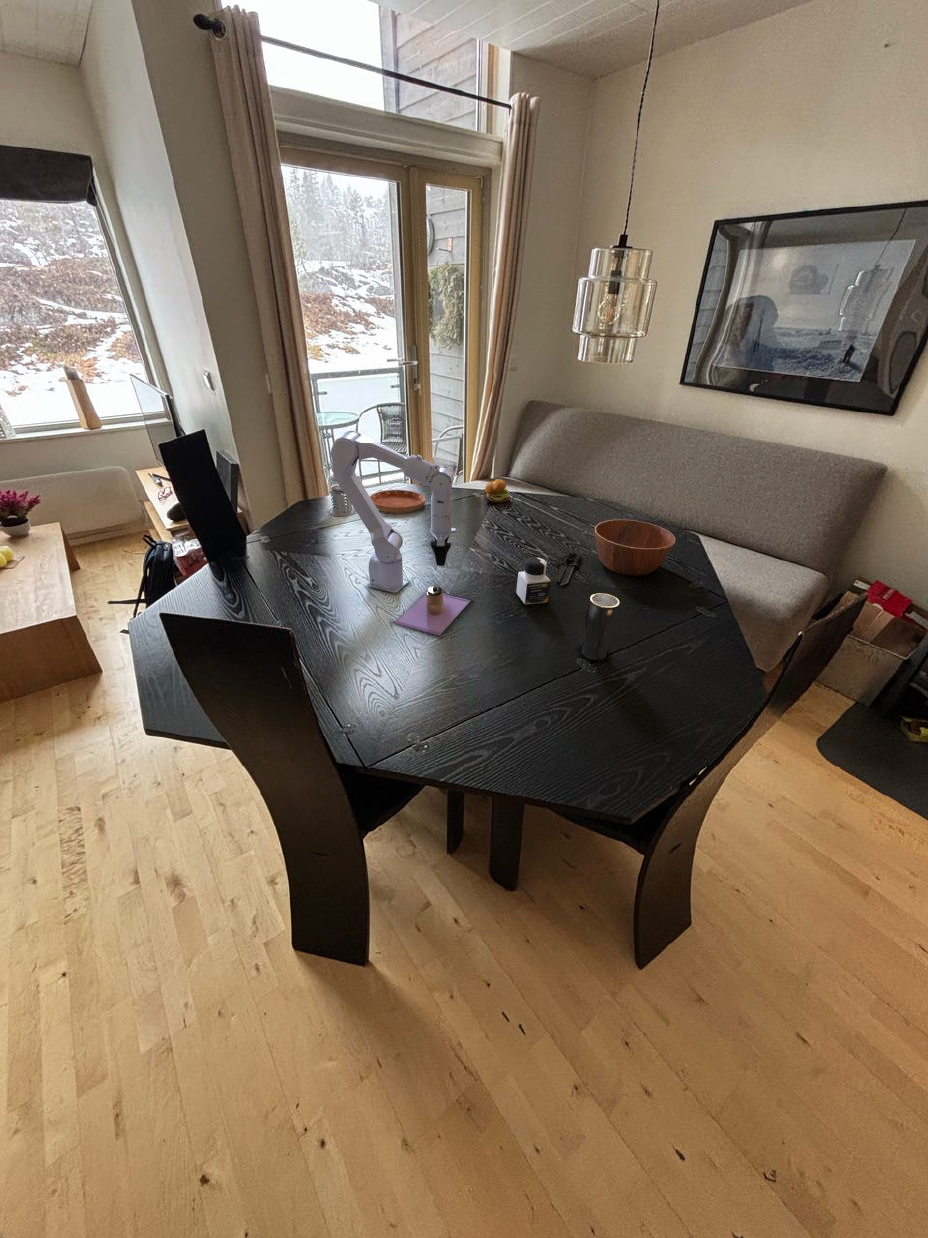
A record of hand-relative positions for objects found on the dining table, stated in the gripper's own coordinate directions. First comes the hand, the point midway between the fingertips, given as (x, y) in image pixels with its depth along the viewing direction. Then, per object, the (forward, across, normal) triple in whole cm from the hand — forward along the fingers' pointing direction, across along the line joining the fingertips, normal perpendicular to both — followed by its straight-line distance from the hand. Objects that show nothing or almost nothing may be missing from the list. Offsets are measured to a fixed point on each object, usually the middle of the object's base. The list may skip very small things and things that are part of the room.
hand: (440, 559), depth 143 cm
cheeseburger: (+5, +83, -23) cm, 86 cm away
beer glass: (+10, -32, -38) cm, 51 cm away
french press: (+10, +63, +40) cm, 75 cm away
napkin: (+9, -14, +1) cm, 17 cm away
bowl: (+10, +19, -62) cm, 65 cm away
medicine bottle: (+10, -5, -26) cm, 29 cm away
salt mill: (+9, -14, +1) cm, 16 cm away
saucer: (+10, +72, +19) cm, 75 cm away
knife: (+10, +14, -41) cm, 44 cm away
